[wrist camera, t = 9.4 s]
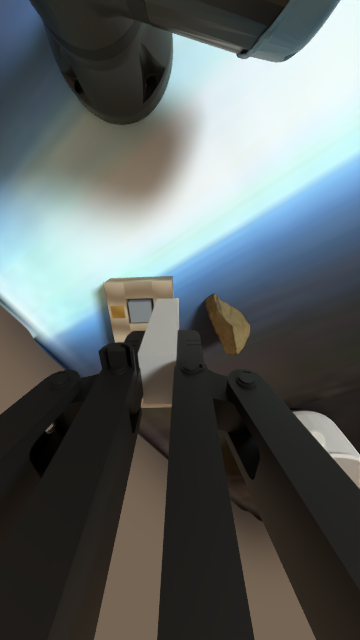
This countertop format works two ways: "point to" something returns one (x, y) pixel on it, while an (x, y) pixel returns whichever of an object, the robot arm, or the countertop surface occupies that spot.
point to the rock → (228, 324)
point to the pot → (332, 441)
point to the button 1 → (140, 309)
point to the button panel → (118, 299)
